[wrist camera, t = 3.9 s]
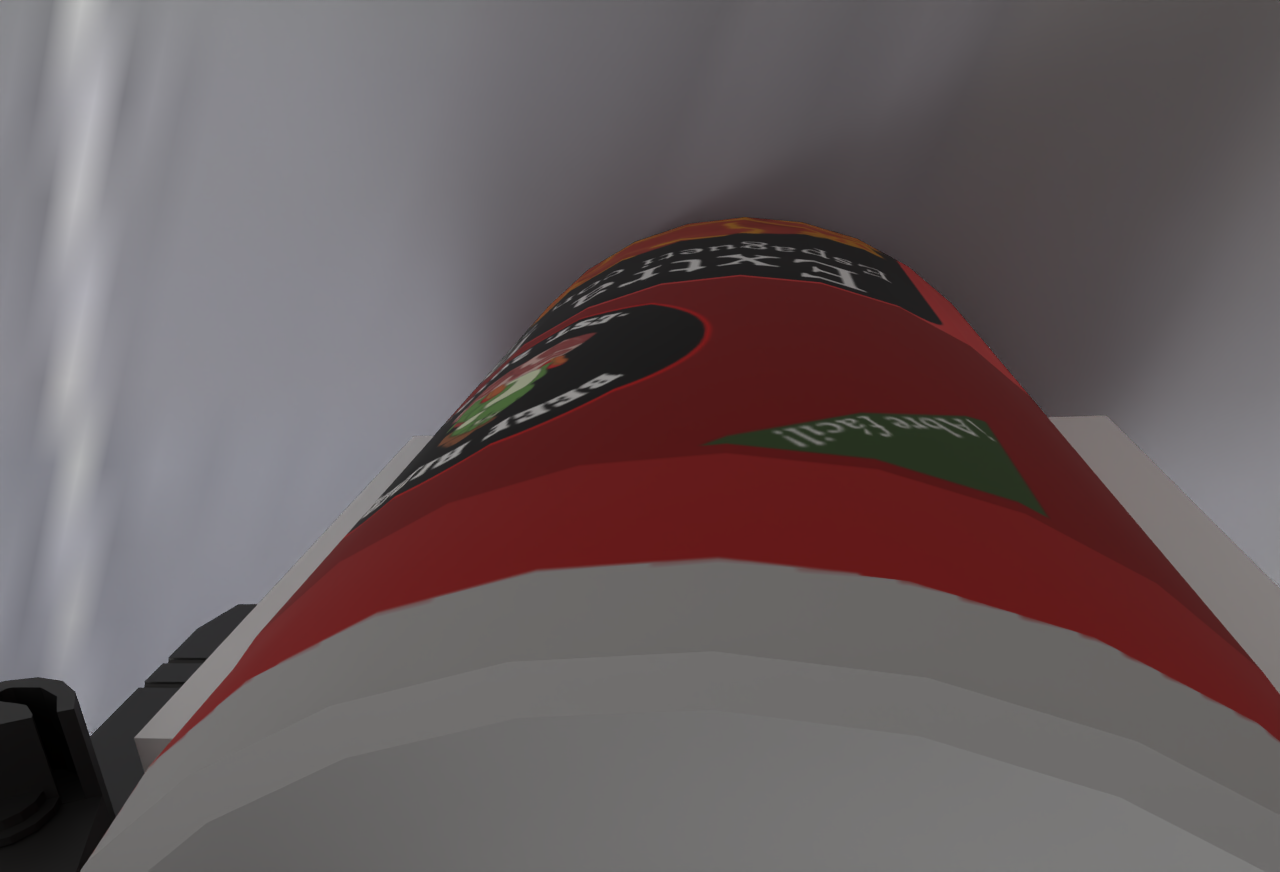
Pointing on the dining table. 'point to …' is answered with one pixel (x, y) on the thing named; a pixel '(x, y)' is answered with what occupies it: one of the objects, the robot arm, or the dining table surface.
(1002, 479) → the canned food
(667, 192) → the dining table surface
